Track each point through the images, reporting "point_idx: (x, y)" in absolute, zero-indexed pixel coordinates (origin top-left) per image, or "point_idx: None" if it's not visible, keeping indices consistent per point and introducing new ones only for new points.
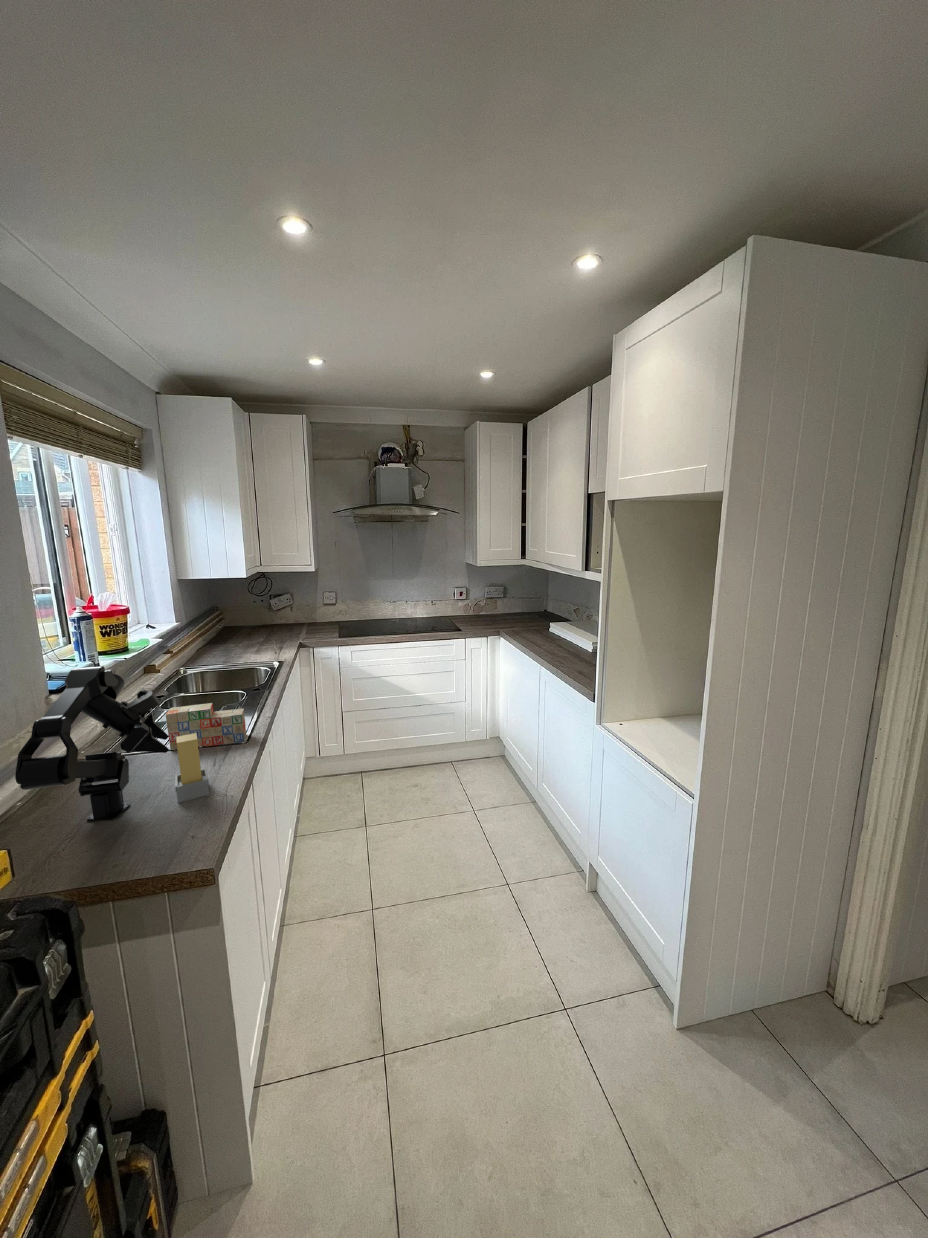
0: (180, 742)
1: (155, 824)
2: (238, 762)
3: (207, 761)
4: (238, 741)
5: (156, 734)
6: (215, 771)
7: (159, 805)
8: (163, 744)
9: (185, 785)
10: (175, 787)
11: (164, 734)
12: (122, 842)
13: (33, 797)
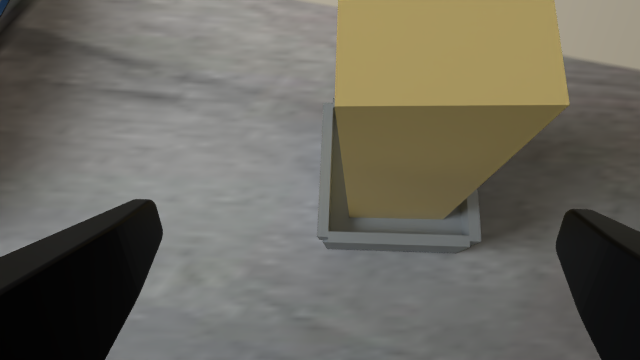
0: (561, 68)
1: None
2: (204, 18)
3: (105, 121)
4: (3, 1)
5: (90, 325)
6: (231, 99)
7: (436, 330)
8: (631, 247)
9: (476, 199)
10: (469, 246)
11: (126, 232)
12: None
13: None
